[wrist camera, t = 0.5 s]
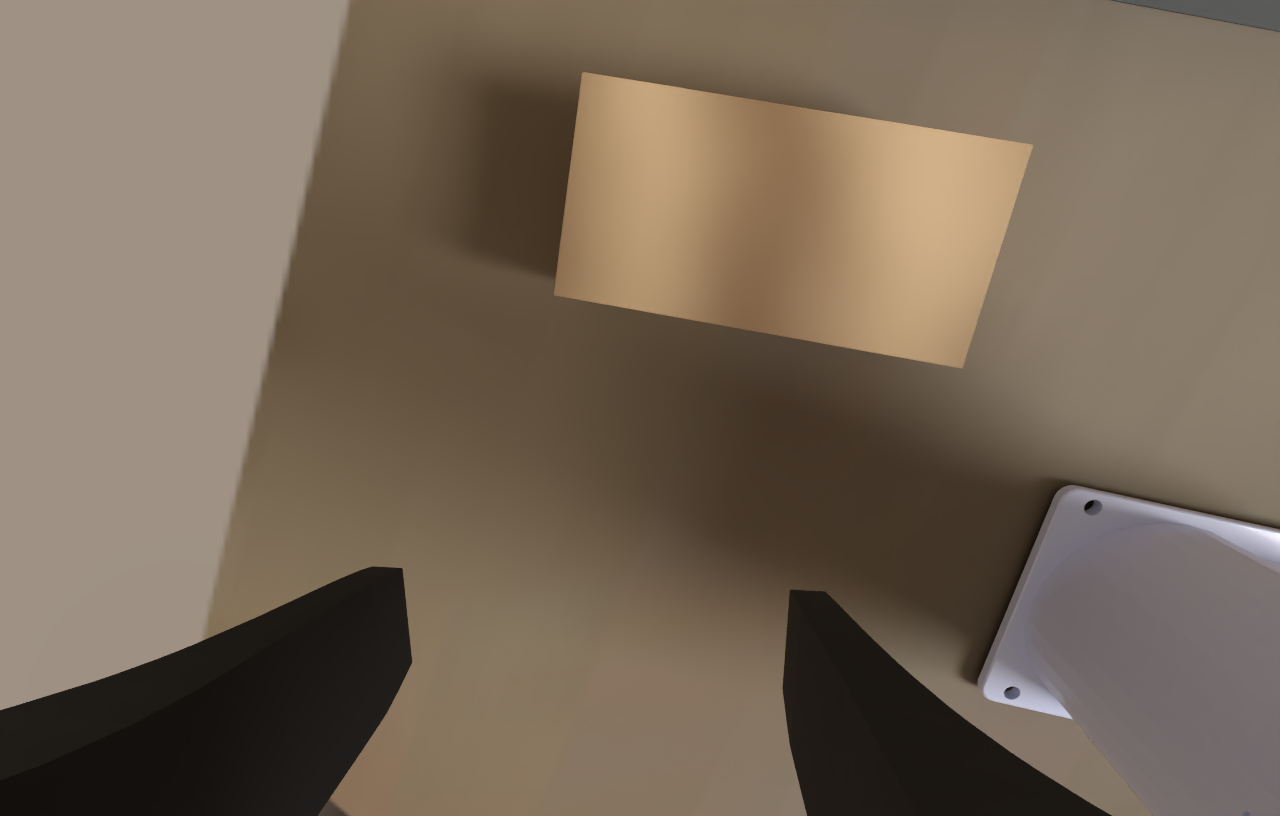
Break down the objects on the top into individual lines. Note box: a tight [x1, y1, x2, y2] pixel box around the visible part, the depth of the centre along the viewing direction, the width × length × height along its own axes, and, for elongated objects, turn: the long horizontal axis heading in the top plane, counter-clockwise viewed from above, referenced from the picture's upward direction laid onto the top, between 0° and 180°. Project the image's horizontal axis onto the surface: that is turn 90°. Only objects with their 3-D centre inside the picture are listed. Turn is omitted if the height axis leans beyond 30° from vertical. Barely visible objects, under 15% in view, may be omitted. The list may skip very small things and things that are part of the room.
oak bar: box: [554, 72, 1033, 368], centre depth 16 cm, size 10×5×4 cm, turn 80°
